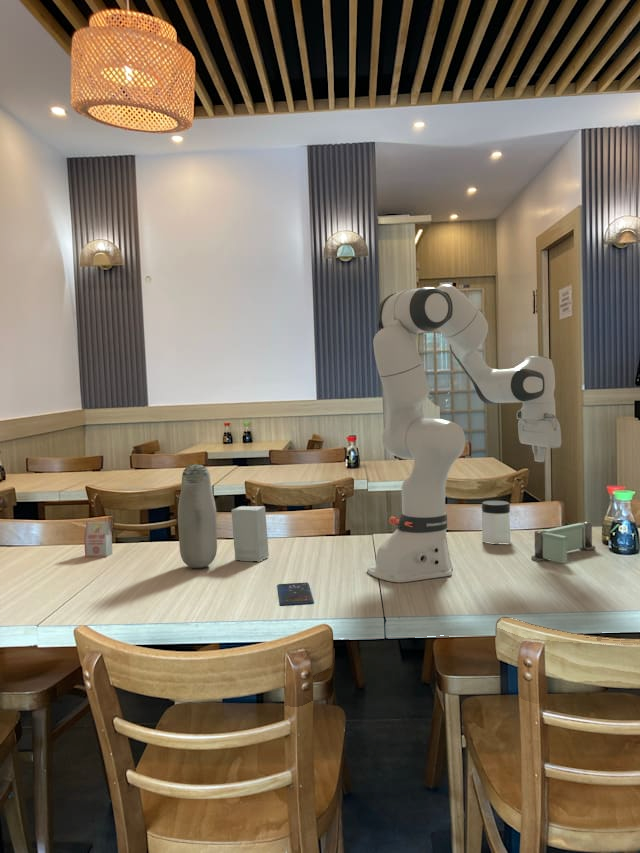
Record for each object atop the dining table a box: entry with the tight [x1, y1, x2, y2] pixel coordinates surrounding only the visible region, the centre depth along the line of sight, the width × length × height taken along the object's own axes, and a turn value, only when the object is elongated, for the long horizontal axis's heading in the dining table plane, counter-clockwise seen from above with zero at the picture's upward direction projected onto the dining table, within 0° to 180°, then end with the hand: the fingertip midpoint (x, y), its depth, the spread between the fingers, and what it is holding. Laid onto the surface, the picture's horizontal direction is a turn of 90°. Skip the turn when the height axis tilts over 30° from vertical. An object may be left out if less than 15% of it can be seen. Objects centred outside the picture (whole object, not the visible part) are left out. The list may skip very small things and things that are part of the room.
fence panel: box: [542, 532, 568, 564], centre depth 162 cm, size 2×6×7 cm, turn 31°
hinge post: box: [580, 521, 596, 551], centre depth 176 cm, size 4×4×8 cm
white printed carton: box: [83, 521, 113, 558], centre depth 184 cm, size 4×7×10 cm, turn 81°
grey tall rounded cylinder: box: [177, 463, 218, 569], centre depth 167 cm, size 10×10×28 cm
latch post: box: [530, 530, 549, 563], centre depth 166 cm, size 6×5×8 cm
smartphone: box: [277, 582, 315, 607], centre depth 142 cm, size 8×1×15 cm
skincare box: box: [231, 505, 270, 563], centre depth 174 cm, size 8×6×15 cm
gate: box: [542, 522, 585, 553], centre depth 171 cm, size 16×2×7 cm, turn 122°
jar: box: [481, 500, 511, 544], centre depth 187 cm, size 9×8×12 cm
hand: (539, 461), depth 177 cm, fingers closed
